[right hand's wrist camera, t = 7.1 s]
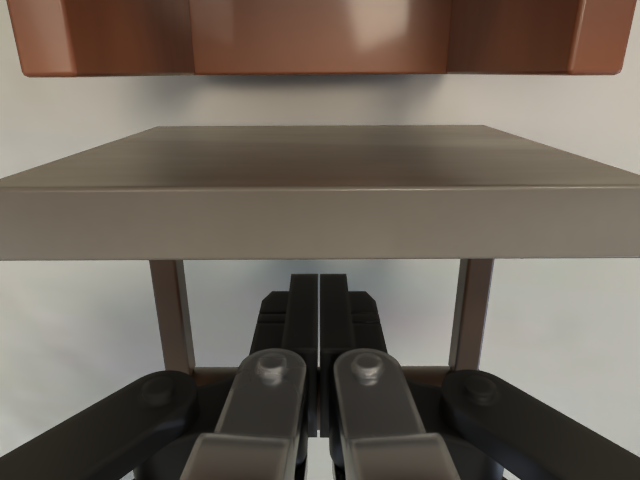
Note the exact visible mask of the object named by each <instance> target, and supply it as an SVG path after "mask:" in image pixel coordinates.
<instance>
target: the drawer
mask: <svg viewBox="0 0 640 480" xmlns="http://www.w3.org/2000/svg"><path fill="white" fill-rule="evenodd" d="M6 1H7V5H8V10H9V14H10V19H11V23H12V28H13V32H14V37H15V42H16V46H17V51H18V55H19V60H20V64H21V69H22V72H23V74H24V75H25V76H27V77H111V76H166V75H322V74H494V75H615V74H618V73H620V71H621V70H622V66H623V61H624V57H625V52H626V47H627V43H628V38H629V34H630V29H631V24H632V20H633V15H634V10H635V6H636V1H637V0H6ZM494 258H640V175H638V174H635V173H631V172H628V171H625V170H622V169H619V168H616V167H613V166H610V165H606V164H603V163H600V162H597V161H594V160H591V159H588V158H584V157H581V156H578V155H575V154H572V153H569V152H566V151H563V150H559V149H556V148H553V147H550V146H547V145H544V144H541V143H538V142H534V141H531V140H528V139H525V138H522V137H519V136H516V135H512V134H509V133H506V132H503V131H500V130H497V129H494V128H491V127H487V126H484V125H426V126H170V127H155V128H152V129H149V130H146V131H143V132H140V133H137V134H134V135H131V136H128V137H125V138H122V139H119V140H116V141H113V142H110V143H107V144H104V145H101V146H98V147H95V148H92V149H89V150H86V151H83V152H80V153H77V154H74V155H71V156H68V157H65V158H62V159H59V160H56V161H53V162H50V163H47V164H44V165H41V166H38V167H35V168H32V169H29V170H26V171H23V172H20V173H17V174H14V175H11V176H8V177H5V178H2V179H0V261H16V260H149V262H150V269H151V276H152V282H153V289H154V296H155V303H156V309H157V316H158V323H159V330H160V336H161V343H162V350H163V357H164V363H165V371H167V370H175V371H181V372H184V373H187V374H189V375H190V376H191V377H193V379H194V380H195V382H196V384H197V386H202V385H206V384H211V383H215V382H219V381H222V380H224V379H227V378H229V377H231V376H233V375H234V374H236V373H237V371H238V368H239V367H195V358H194V349H193V341H192V333H191V324H190V316H189V308H188V299H187V291H186V283H185V274H184V266H183V260H254V259H460V268H459V277H458V286H457V294H456V303H455V312H454V320H453V329H452V338H451V346H450V355H449V366H401V368H402V371H403V374H404V376H406V377H408V378H410V379H412V380H415V381H418V382H421V383H425V384H430V385H434V386H439V387H441V386H442V382H443V379H444V378H445V377H446V376H447V375H448V374H450V373H452V372H454V371H458V370H465V369H471V370H479V362H480V355H481V348H482V341H483V334H484V327H485V320H486V313H487V306H488V299H489V292H490V285H491V279H492V272H493V265H494ZM479 371H480V370H479ZM317 430H320V367H318V372H317Z"/></svg>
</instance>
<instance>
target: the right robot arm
mask: <svg viewBox="0 0 640 480" xmlns="http://www.w3.org/2000/svg"><path fill="white" fill-rule="evenodd" d="M317 372H318V274H292V275H291V282H290V289H289V291H272V292H271V293H270V294H269V295H268V296H267V297H266V298H265V299H264V300H263V301H262V304H261V308H260V314H259V316H258V320H257V324H256V329H255V333H254V337H253V341H252V345H251V349H250V353H249V356H248V357H246V358H245V359H244V360H243V361H242V363H241V364H240V366H239V368H238V371H237V373H236V374H234V375H233V376H231V377H229V378H227V379H224V380H222V381H219V382H215V383H211V384H206V385H202V386H197V384H196V382H195V380H194V379H193V377H191V376H190V375H189V374H187V373H184V372H181V371H175V370H167V371H159V372H155V373H151V374H148V375H146V376H143V377H141V378H139V379H138V380H136V381H134V382H132V383H131V384H129V385H127V386H125V387H124V388H122V389H120V390H118V391H116V392H115V393H113V394H111V395H109V396H108V397H106V398H104V399H102V400H101V401H99V402H97V403H95V404H94V405H92V406H90V407H88V408H87V409H85V410H83V411H81V412H79V413H78V414H76V415H74V416H72V417H71V418H69V419H67V420H65V421H64V422H62V423H60V424H58V425H57V426H55V427H53V428H51V429H50V430H48V431H46V432H44V433H43V434H41V435H39V436H37V437H35V438H34V439H32V440H30V441H28V442H27V443H25V444H23V445H21V446H20V447H18V448H16V449H14V450H13V451H11V452H9V453H7V454H6V455H4V456H2V457H0V480H119V479H121V478H122V477H124V476H125V475H126V474H128V473H129V472H130V471H132V470H133V473H134V479H133V480H306V479H307V471H308V461H307V446H308V437H317ZM320 437H329V450H330V455H331V458H332V471H333V479H334V480H507V479H506V478H504V477H503V471H504V468H505V469H507V470H508V471H510V472H511V473H512V474H514V475H515V476H516V477H518V478H519V479H521V480H640V457H638V456H636V455H634V454H633V453H631V452H629V451H627V450H626V449H624V448H622V447H620V446H619V445H617V444H615V443H613V442H612V441H610V440H608V439H606V438H605V437H603V436H601V435H599V434H597V433H596V432H594V431H592V430H590V429H589V428H587V427H585V426H583V425H582V424H580V423H578V422H576V421H575V420H573V419H571V418H569V417H568V416H566V415H564V414H562V413H560V412H559V411H557V410H555V409H553V408H552V407H550V406H548V405H546V404H545V403H543V402H541V401H539V400H538V399H536V398H534V397H532V396H531V395H529V394H527V393H525V392H524V391H522V390H520V389H518V388H516V387H515V386H513V385H511V384H509V383H508V382H506V381H504V380H502V379H501V378H499V377H497V376H495V375H492V374H490V373H487V372H484V371H479V370H471V369H465V370H458V371H454V372H452V373H450V374H448V375H447V376H446V377H445V378H444V379H443V382H442V386H441V387H439V386H434V385H430V384H425V383H421V382H418V381H415V380H412V379H410V378H408V377H406V376H404V374H403V371H402V368H401V366H400V364H399V363H398V361H397V360H396V359H395V358H394V357H392V356H391V355H389V354H388V353H387V349H386V344H385V340H384V336H383V332H382V327H381V324H380V319H379V314H378V310H377V306H376V301H375V300H374V299H373V298H372V297H371V296H370V295H369V294H368V293H367V292H366V291H348V285H347V277H346V274H320Z"/></svg>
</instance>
